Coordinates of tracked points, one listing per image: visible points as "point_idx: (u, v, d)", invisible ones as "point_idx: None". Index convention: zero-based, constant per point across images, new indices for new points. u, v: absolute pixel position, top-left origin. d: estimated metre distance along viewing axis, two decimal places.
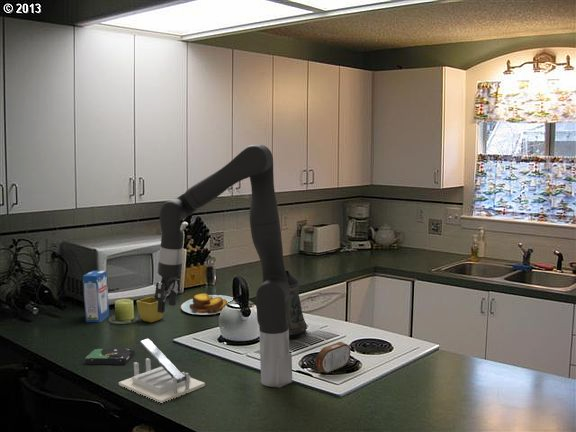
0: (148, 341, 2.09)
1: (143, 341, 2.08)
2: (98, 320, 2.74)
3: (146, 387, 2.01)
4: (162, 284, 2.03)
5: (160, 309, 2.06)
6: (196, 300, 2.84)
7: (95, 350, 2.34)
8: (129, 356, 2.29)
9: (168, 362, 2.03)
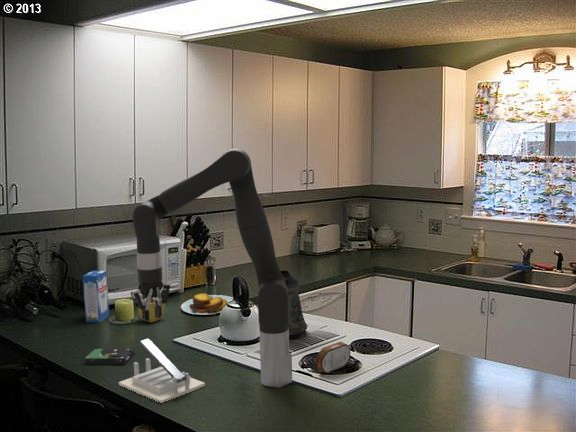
0: (148, 341, 2.09)
1: (143, 341, 2.08)
2: (98, 320, 2.74)
3: (146, 387, 2.01)
4: (134, 294, 1.98)
5: (144, 317, 2.02)
6: (196, 300, 2.84)
7: (95, 350, 2.34)
8: (129, 356, 2.29)
9: (168, 362, 2.03)
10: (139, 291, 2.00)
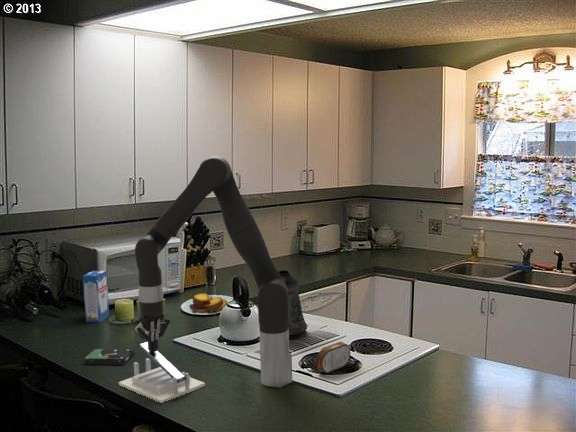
0: (147, 344, 2.09)
1: (142, 344, 2.09)
2: (98, 320, 2.74)
3: (146, 387, 2.01)
4: (137, 330, 2.00)
5: (150, 348, 2.05)
6: (196, 300, 2.84)
7: (95, 350, 2.33)
8: (129, 356, 2.29)
9: (168, 363, 2.03)
10: (141, 325, 2.02)
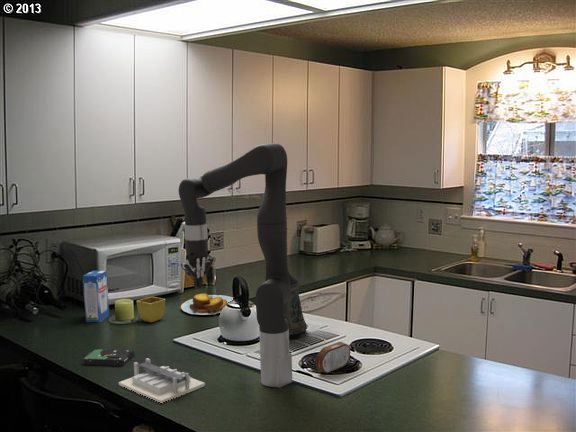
0: (146, 363, 2.11)
1: (141, 364, 2.11)
2: (98, 320, 2.74)
3: (146, 387, 2.01)
4: (184, 266, 2.13)
5: (195, 285, 2.18)
6: (196, 300, 2.83)
7: (95, 351, 2.33)
8: (127, 357, 2.28)
9: (167, 371, 2.04)
10: (188, 262, 2.14)
